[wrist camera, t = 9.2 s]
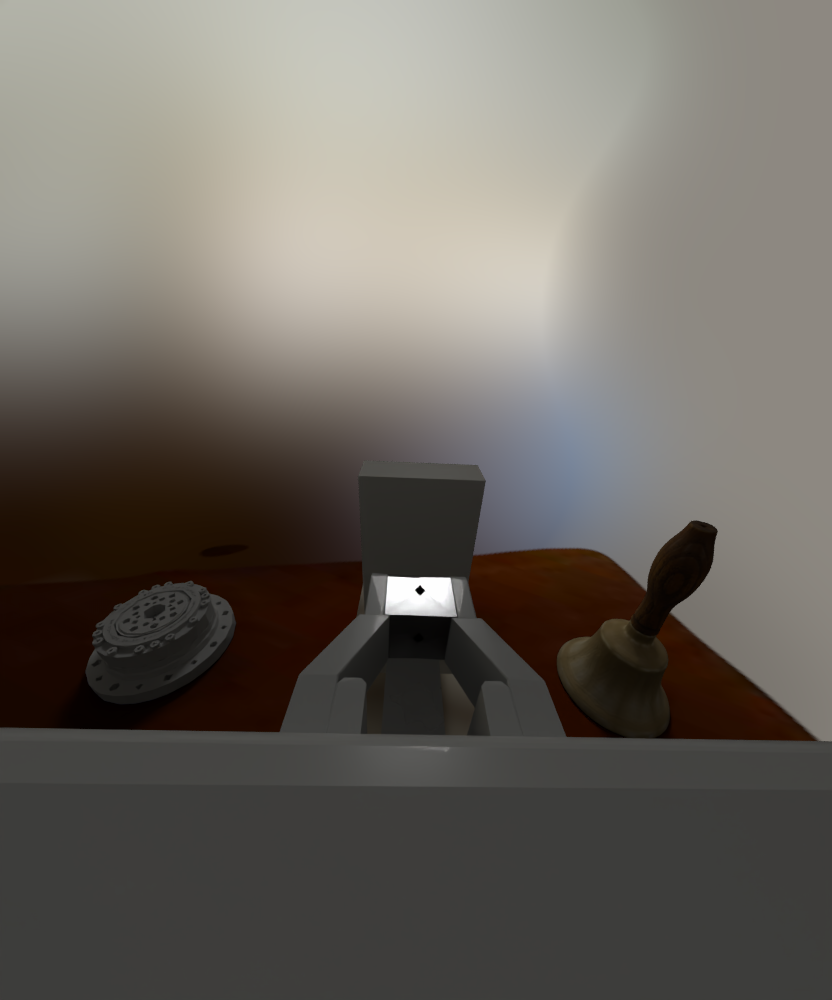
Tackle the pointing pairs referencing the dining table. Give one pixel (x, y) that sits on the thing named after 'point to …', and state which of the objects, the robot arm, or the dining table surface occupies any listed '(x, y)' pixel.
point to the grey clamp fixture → (413, 697)
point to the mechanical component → (158, 642)
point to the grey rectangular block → (418, 520)
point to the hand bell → (637, 644)
